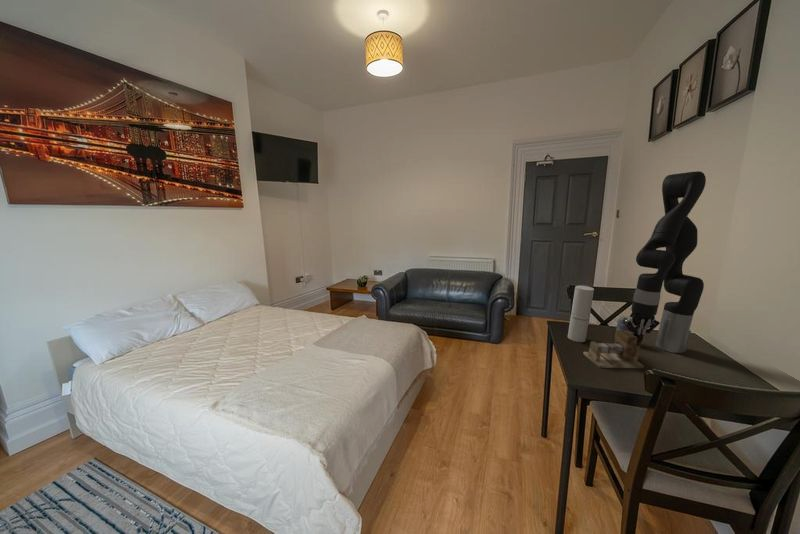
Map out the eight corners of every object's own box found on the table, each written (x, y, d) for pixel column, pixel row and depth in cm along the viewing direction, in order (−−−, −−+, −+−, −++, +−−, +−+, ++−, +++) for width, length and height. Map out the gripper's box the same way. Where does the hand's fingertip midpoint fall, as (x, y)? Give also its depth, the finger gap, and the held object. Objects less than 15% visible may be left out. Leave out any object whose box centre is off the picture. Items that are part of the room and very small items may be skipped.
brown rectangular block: (621, 351, 116) (625, 330, 114) (632, 359, 110) (637, 337, 108) (612, 351, 116) (616, 330, 114) (623, 359, 110) (628, 337, 108)
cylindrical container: (580, 335, 135) (588, 285, 129) (588, 342, 128) (597, 290, 123) (564, 334, 136) (572, 285, 130) (572, 341, 129) (580, 289, 123)
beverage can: (616, 343, 128) (621, 318, 125) (611, 336, 134) (616, 313, 132) (633, 346, 125) (639, 321, 123) (627, 338, 132) (632, 315, 129)
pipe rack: (623, 354, 118) (626, 338, 117) (643, 368, 108) (647, 351, 107) (583, 353, 118) (585, 338, 117) (599, 367, 109) (602, 350, 107)
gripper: (654, 298, 111) (645, 338, 115) (621, 297, 111) (613, 337, 115) (672, 304, 104) (661, 347, 108) (636, 304, 104) (627, 346, 108)
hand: (636, 342), depth 111 cm, fingers closed
